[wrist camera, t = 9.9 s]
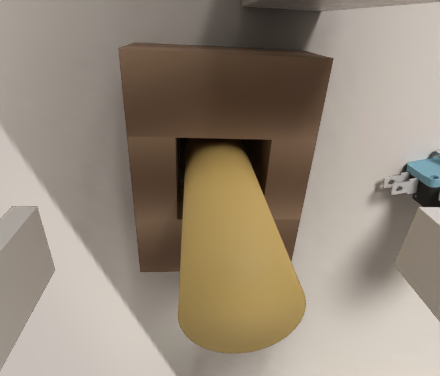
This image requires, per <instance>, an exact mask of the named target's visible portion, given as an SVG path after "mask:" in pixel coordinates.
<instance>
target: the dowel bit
mask: <svg viewBox="0 0 440 376" xmlns="http://www.w3.org/2000/svg"><path fill="white" fill-rule="evenodd" d="M305 307H306V299H305V295H304V292H303V290H302V287H301V285H300V282H299V280H298V277H297V275H296V273H295V270H294V268H293V265H292V263H291V260H290V258H289V256H288V253H287V251H286V248H285V246H284V243H283V241H282V239H281V236H280V234H279V231H278V229H277V226H276V224H275V222H274V219H273V217H272V214H271V212H270V209H269V207H268V204H267V202H266V200H265V197H264V195H263V192H262V190H261V187H260V185H259V183H258V180H257V178H256V175H255V173H254V170H253V168H252V166H251V163H250V161H249V158H248V156H247V153H246V151H245V149H244V146H243V144H242V141H241V139H218V138H190V139H189V141H188V143H187V146H186V157H185V178H184V199H183V220H182V241H181V262H180V283H179V304H178V320H179V324H180V327H181V329H182V331H183V332H184V334H185V335H186V336H187V337H188V338H189V339H190V340H191V341H193V342H194V343H195V344H197V345H199V346H201V347H203V348H206V349H208V350H212V351H215V352H221V353H247V352H253V351H257V350H260V349H263V348H266V347H269V346H271V345H273V344H275V343H277V342H279V341H281V340H282V339H284V338H285V337H287V336H288V335H289V334H290V333H291V332H292V331H293V330H294V329H295V328H296V327H297V326H298V324H299V323H300V321H301V319H302V317H303V315H304V312H305Z"/></svg>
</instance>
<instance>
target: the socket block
mask: <svg viewBox="0 0 440 376" xmlns="http://www.w3.org/2000/svg"><path fill="white" fill-rule="evenodd" d="M119 58H120V68H121V79H122V89H123V99H124V109H125V120H126V130H127V140H128V150H129V161H130V171H131V181H132V191H133V202H134V212H135V222H136V232H137V242H138V253H139V263H140V272H170V271H180V262H181V241H182V220H183V199H184V185H180V160H179V138H218V139H254V148H253V158H252V168H253V170H254V173H255V175H256V178H257V180H258V183H259V185H260V187H261V190H262V192H263V195H264V197H265V200H266V202H267V204H268V207H269V209H270V212H271V214H272V217H273V219H274V222H275V224H276V226H277V229H278V231H279V234H280V236H281V239H282V241H283V243H284V246H285V248H286V251H287V253H288V256H289V258H290V260H291V261H292V256H293V251H294V246H295V241H296V236H297V232H298V227H299V222H300V217H301V212H302V208H303V203H304V198H305V193H306V188H307V183H308V179H309V174H310V169H311V164H312V159H313V155H314V150H315V145H316V140H317V135H318V130H319V126H320V121H321V116H322V111H323V106H324V102H325V97H326V92H327V87H328V82H329V77H330V73H331V68H332V63H333V58H329V57H326V56H322V55H318V54H314V53H310V52H306V51H296V50H276V49H256V48H235V47H215V46H195V45H174V44H154V43H132V44H130V45H127V46H124V47H121V48H119Z"/></svg>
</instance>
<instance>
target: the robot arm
mask: <svg viewBox="0 0 440 376" xmlns="http://www.w3.org/2000/svg"><path fill="white" fill-rule="evenodd" d="M394 266H395V267H396V268H397V269H398V271H399V272H400V273H401V274H402V275H403V277H404V278H405V279H406V280H407V282H408V283H409V284H410V285H411V287H412V288H413V289H414V290H415V292H416V293H417V294H418V295H419V297H420V298H421V299H422V300H423V302H424V303H425V304H426V305H427V307H428V308H429V309H430V310H431V312H432V313H433V314H434V315H435V317H436V318H437V319H438V320H439V322H440V208H439V207H418V210H417V212H416V214H415V217H414V219H413V221H412V224H411V226H410V228H409V230H408V233H407V235H406V237H405V240H404V242H403V244H402V247H401V249H400V251H399V253H398V256H397V258H396V260H395V263H394ZM54 271H55V268H54V264H53V260H52V257H51V253H50V250H49V246H48V243H47V239H46V236H45V232H44V229H43V225H42V222H41V219H40V215H39V211H38V208H37V206H12V207H11V208H10V209H9V210H8V211H7V212H6V213H5V214H4V215H3V216H2V218H1V219H0V370H1V369H2V367H3V365H4V363H5V361H6V359H7V357H8V356H9V354H10V352H11V350H12V348H13V346H14V345H15V343H16V341H17V339H18V337H19V335H20V333H21V332H22V330H23V328H24V326H25V324H26V323H27V321H28V319H29V317H30V315H31V313H32V312H33V310H34V308H35V306H36V304H37V302H38V301H39V299H40V297H41V295H42V293H43V291H44V289H45V288H46V286H47V284H48V282H49V280H50V278H51V276H52V275H53V273H54Z"/></svg>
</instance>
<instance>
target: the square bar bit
mask: <svg viewBox="0 0 440 376" xmlns="http://www.w3.org/2000/svg"><path fill="white" fill-rule="evenodd" d="M430 2H440V0H242V2H241V6H244V7H260V8H276V9H292V10H308V11H332V10H344V9H356V8H369V7H381V6H393V5H406V4H418V3H430Z"/></svg>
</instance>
